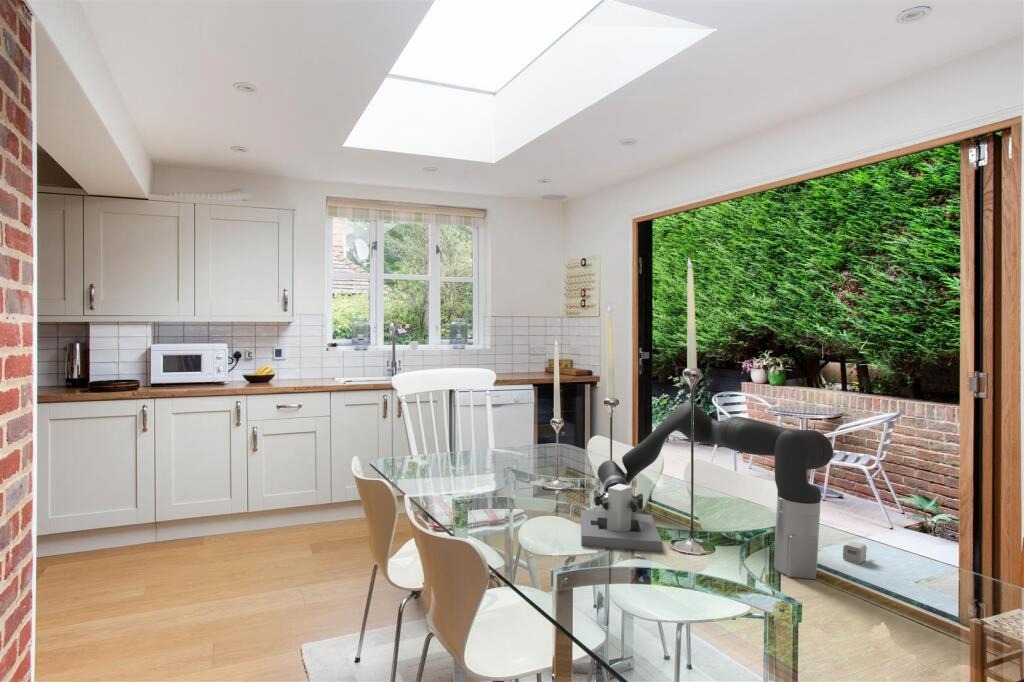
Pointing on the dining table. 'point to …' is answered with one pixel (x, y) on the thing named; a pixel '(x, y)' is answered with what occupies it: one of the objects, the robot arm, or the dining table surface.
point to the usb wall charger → (854, 552)
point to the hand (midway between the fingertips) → (620, 507)
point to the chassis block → (619, 532)
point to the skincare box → (619, 507)
